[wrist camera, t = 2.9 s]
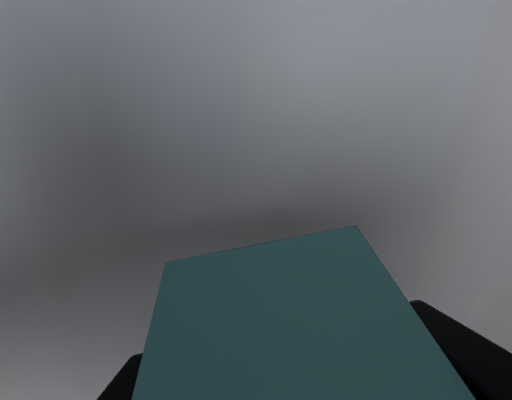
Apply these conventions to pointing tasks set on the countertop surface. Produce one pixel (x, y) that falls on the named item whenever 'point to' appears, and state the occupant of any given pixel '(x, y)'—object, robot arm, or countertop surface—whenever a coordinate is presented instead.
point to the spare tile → (290, 328)
